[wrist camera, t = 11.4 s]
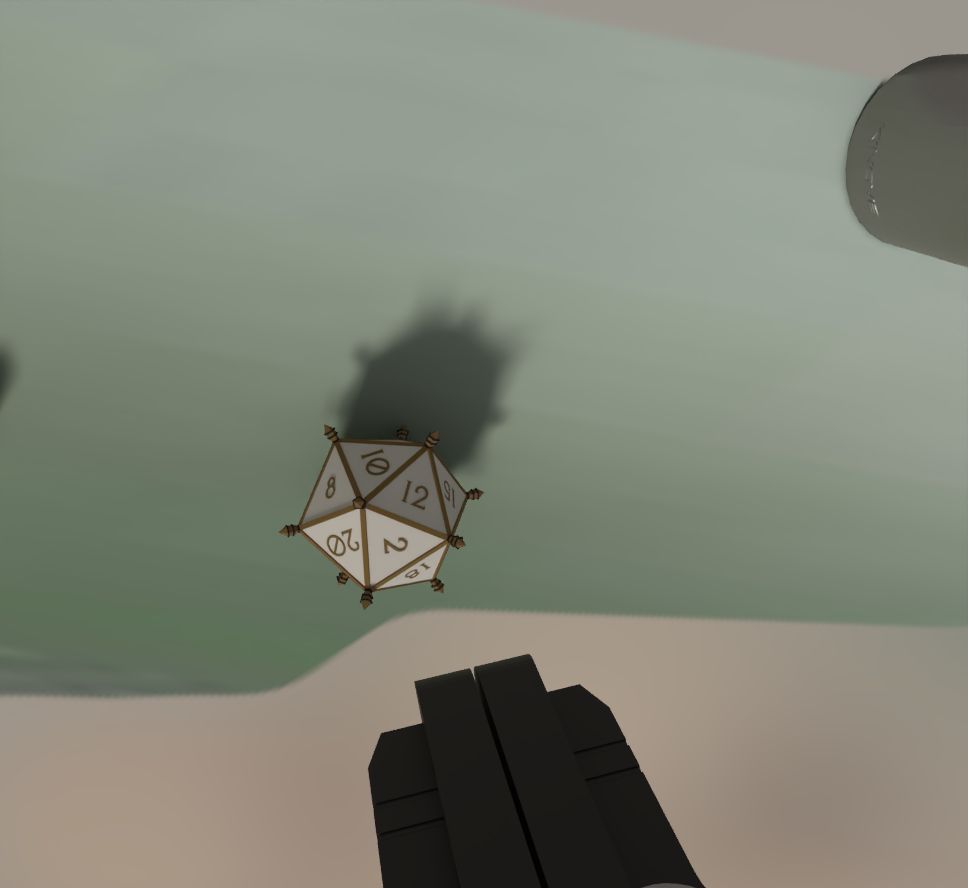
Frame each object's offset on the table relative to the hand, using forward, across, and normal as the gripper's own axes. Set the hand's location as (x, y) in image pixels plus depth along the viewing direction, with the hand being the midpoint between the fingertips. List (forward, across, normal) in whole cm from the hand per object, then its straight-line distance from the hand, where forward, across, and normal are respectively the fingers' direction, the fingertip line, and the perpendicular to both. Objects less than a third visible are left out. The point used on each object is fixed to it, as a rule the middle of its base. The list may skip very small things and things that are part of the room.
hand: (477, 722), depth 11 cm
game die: (+32, 0, +12) cm, 34 cm away
